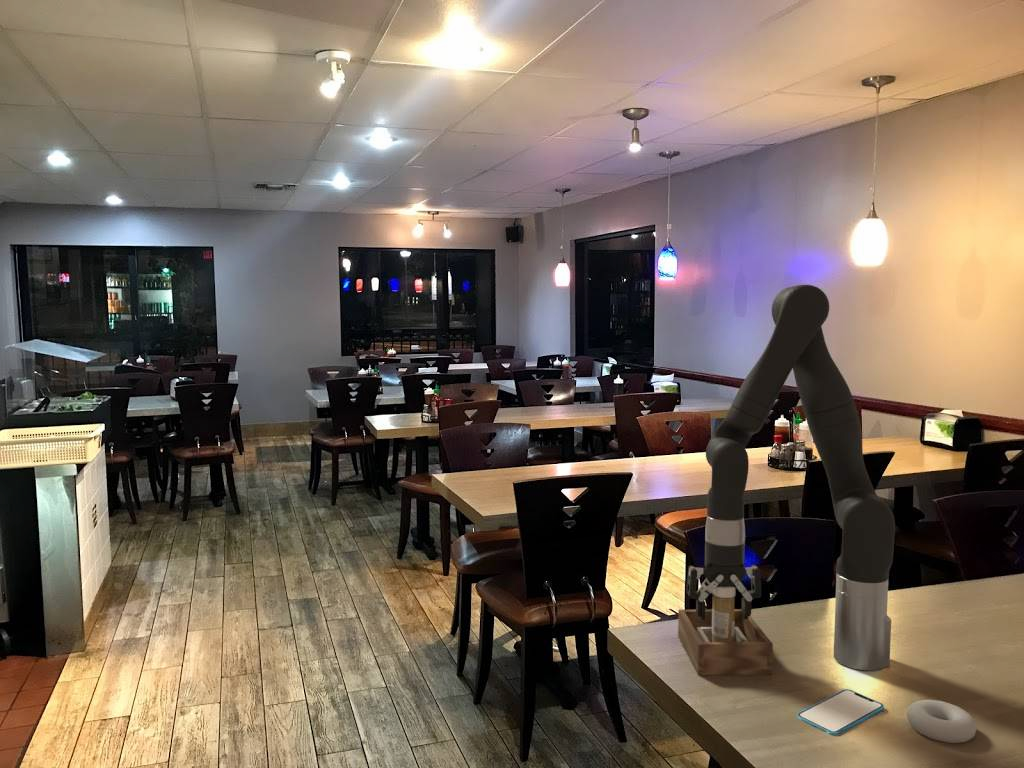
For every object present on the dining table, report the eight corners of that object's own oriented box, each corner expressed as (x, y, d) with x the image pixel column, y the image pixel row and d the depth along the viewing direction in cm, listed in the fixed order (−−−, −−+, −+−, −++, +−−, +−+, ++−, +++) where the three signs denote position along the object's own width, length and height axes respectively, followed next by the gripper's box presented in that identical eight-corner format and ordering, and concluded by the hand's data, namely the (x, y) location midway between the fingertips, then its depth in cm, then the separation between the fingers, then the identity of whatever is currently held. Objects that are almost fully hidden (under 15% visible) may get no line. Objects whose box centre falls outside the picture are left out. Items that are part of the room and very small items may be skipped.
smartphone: (794, 714, 130) (846, 688, 139) (794, 721, 130) (846, 694, 139) (834, 734, 124) (886, 705, 132) (834, 741, 124) (886, 711, 133)
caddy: (744, 636, 162) (745, 609, 162) (771, 674, 145) (772, 643, 145) (678, 637, 162) (678, 609, 162) (698, 675, 145) (698, 644, 145)
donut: (919, 709, 133) (896, 729, 126) (920, 690, 133) (897, 709, 126) (984, 732, 126) (963, 754, 119) (985, 712, 126) (965, 733, 119)
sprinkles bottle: (739, 651, 153) (740, 585, 152) (723, 657, 151) (725, 590, 149) (721, 643, 157) (722, 579, 156) (705, 648, 154) (707, 583, 153)
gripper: (754, 532, 155) (752, 610, 157) (684, 533, 155) (683, 611, 157) (767, 544, 148) (765, 625, 149) (693, 544, 148) (692, 626, 149)
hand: (723, 618), depth 153 cm, fingers open, 8 cm apart
